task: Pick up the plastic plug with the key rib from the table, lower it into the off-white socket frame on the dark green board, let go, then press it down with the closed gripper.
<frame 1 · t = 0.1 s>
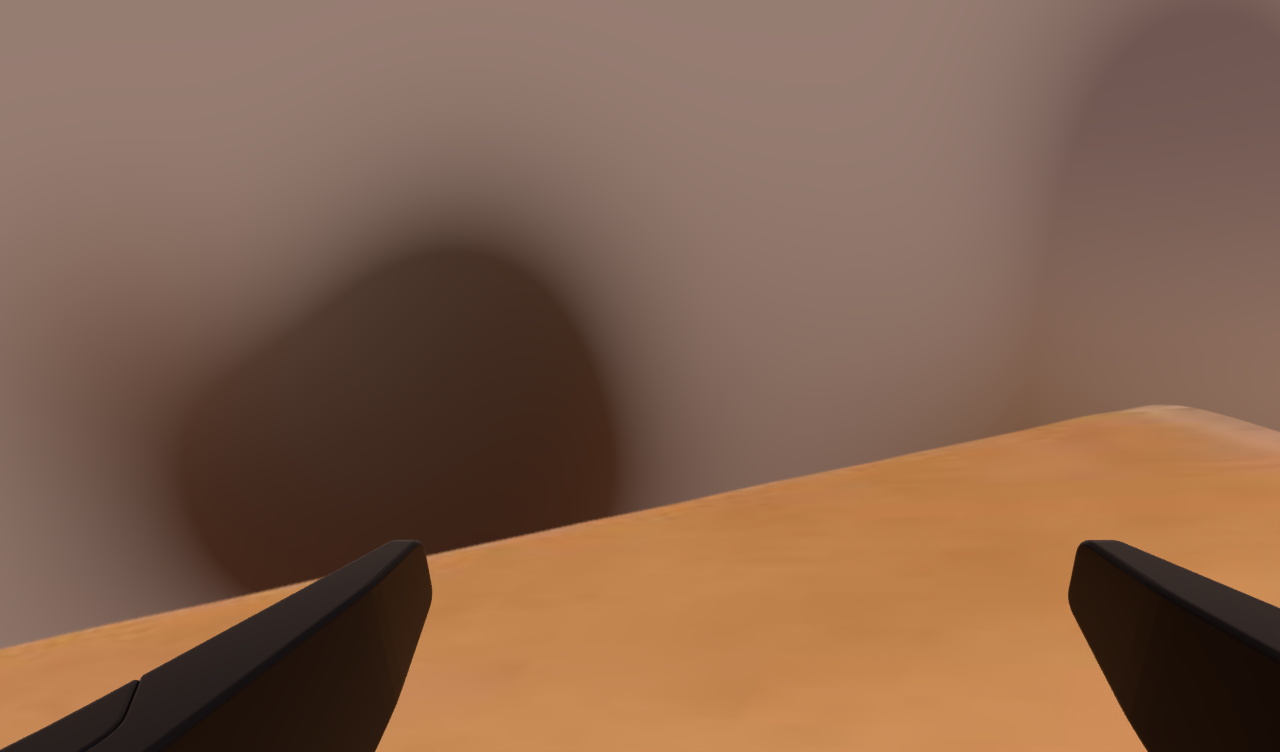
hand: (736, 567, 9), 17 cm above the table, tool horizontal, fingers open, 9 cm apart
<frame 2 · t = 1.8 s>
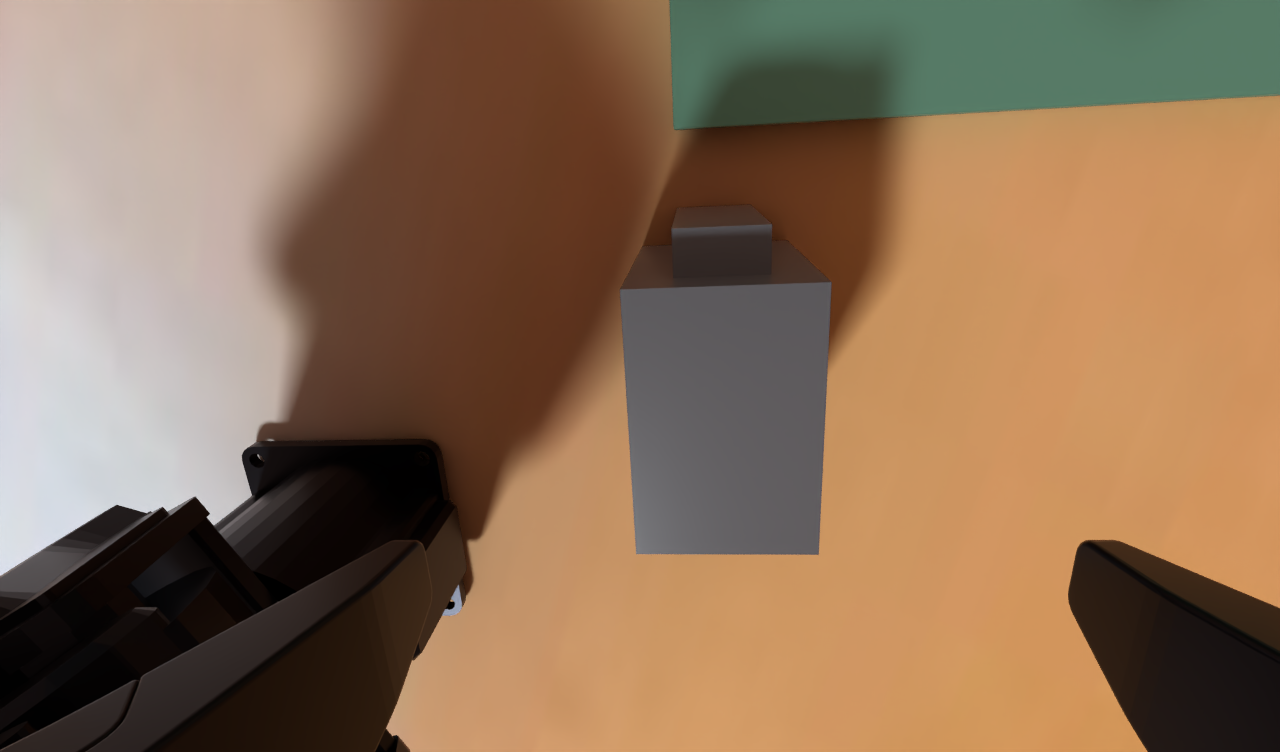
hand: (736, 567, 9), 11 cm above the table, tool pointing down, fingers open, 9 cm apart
plug: (715, 346, 19), on the table
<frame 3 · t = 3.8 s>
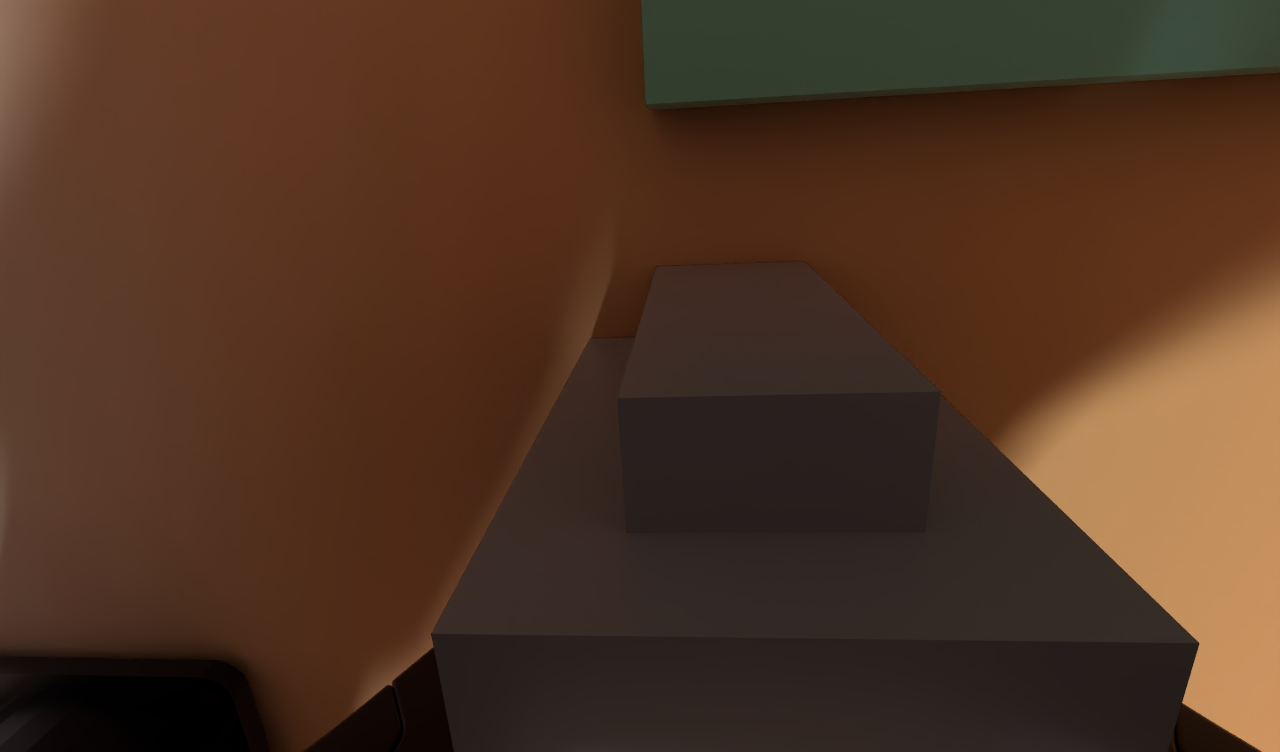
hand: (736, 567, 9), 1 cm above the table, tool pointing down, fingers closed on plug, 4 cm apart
plug: (730, 518, 10), on the table, touching gripper
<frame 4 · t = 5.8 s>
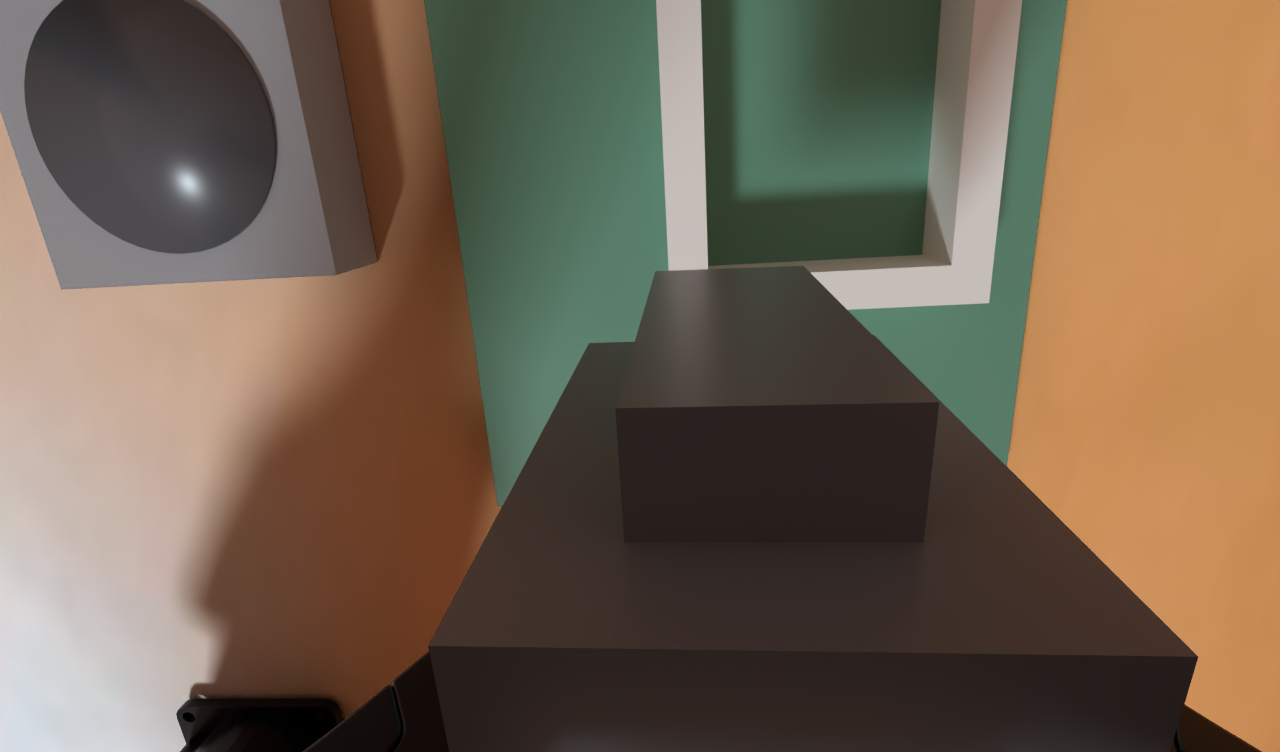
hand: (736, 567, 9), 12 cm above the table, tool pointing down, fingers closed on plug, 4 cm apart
grey square block: (220, 131, 19), on the table
plug: (729, 523, 10), point 10 cm above the table, touching gripper
board: (736, 207, 19), on the table
when the fingers open (5 cm above the table, at t = 8.1 s): plug drops 3 cm, resting on board.
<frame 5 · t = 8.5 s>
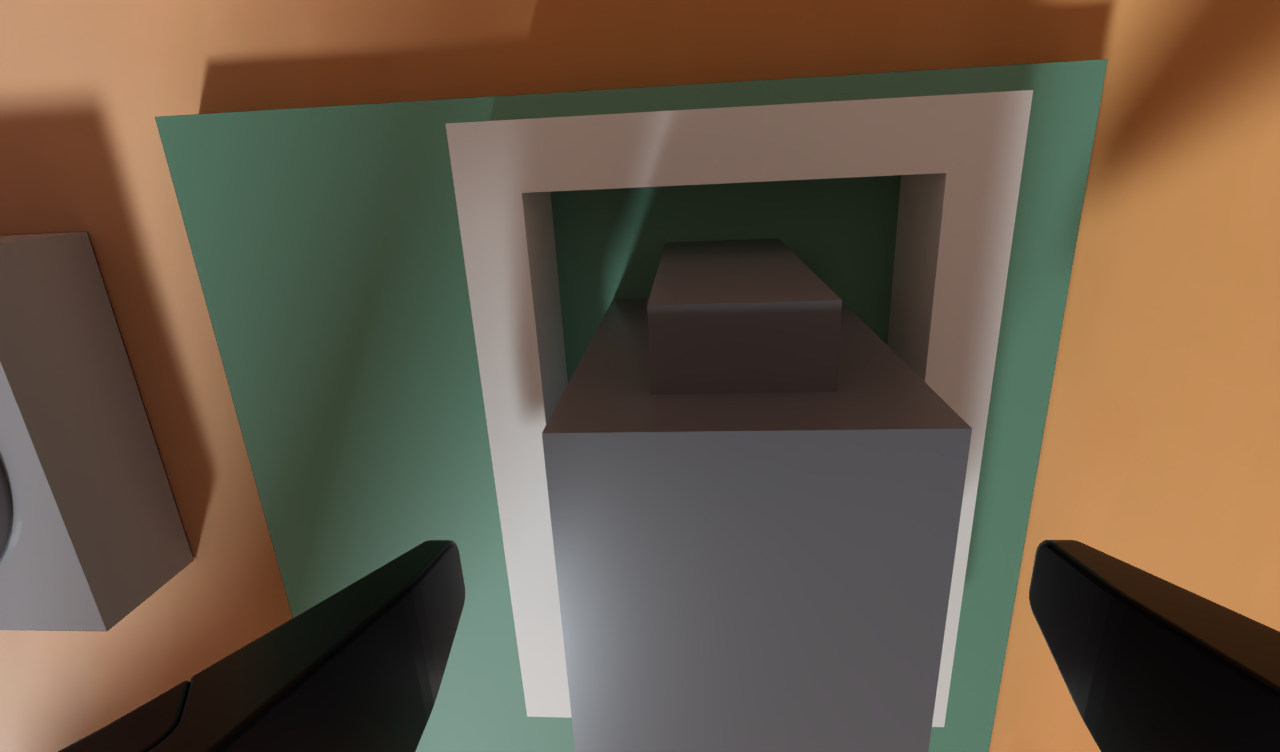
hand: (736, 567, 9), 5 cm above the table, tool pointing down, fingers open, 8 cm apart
plug: (722, 445, 13), point 1 cm above the table, touching board
board: (633, 524, 15), on the table
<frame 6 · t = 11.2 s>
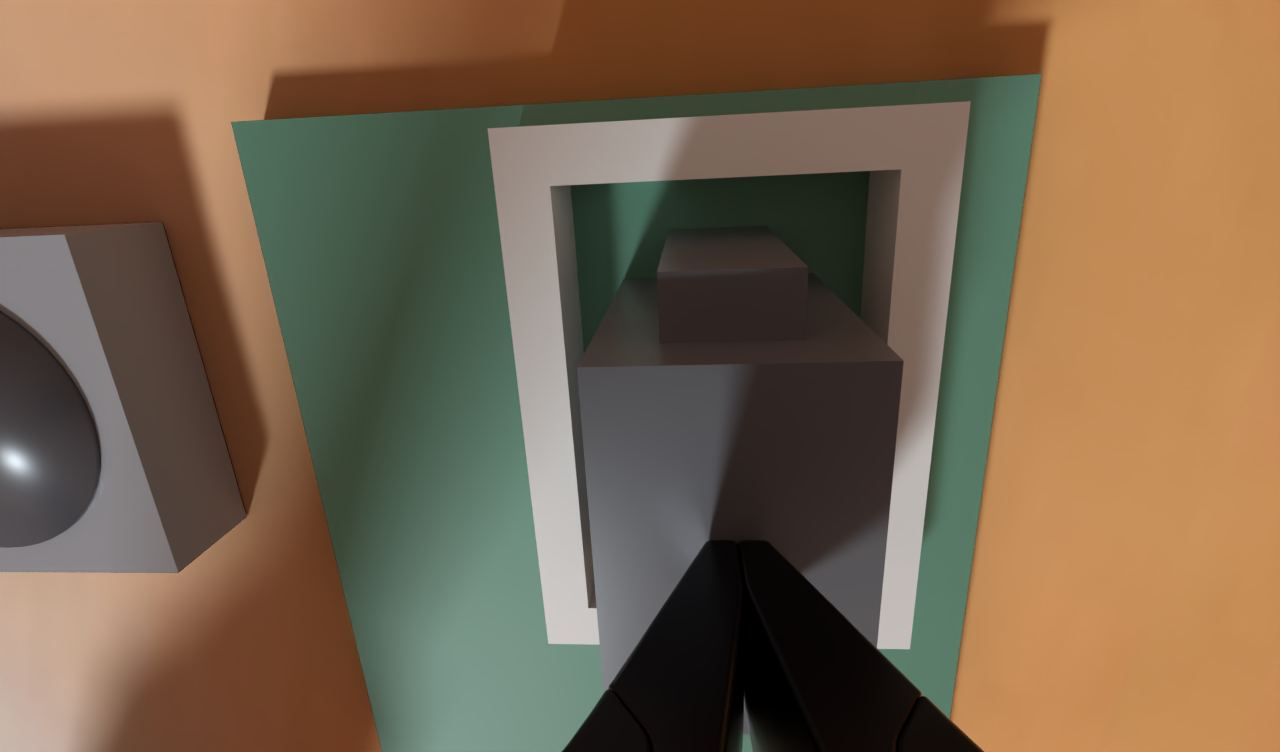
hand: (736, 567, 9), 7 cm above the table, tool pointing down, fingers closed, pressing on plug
grey square block: (64, 384, 17), on the table
plug: (718, 407, 15), point 1 cm above the table, touching board, gripper
board: (640, 482, 16), on the table
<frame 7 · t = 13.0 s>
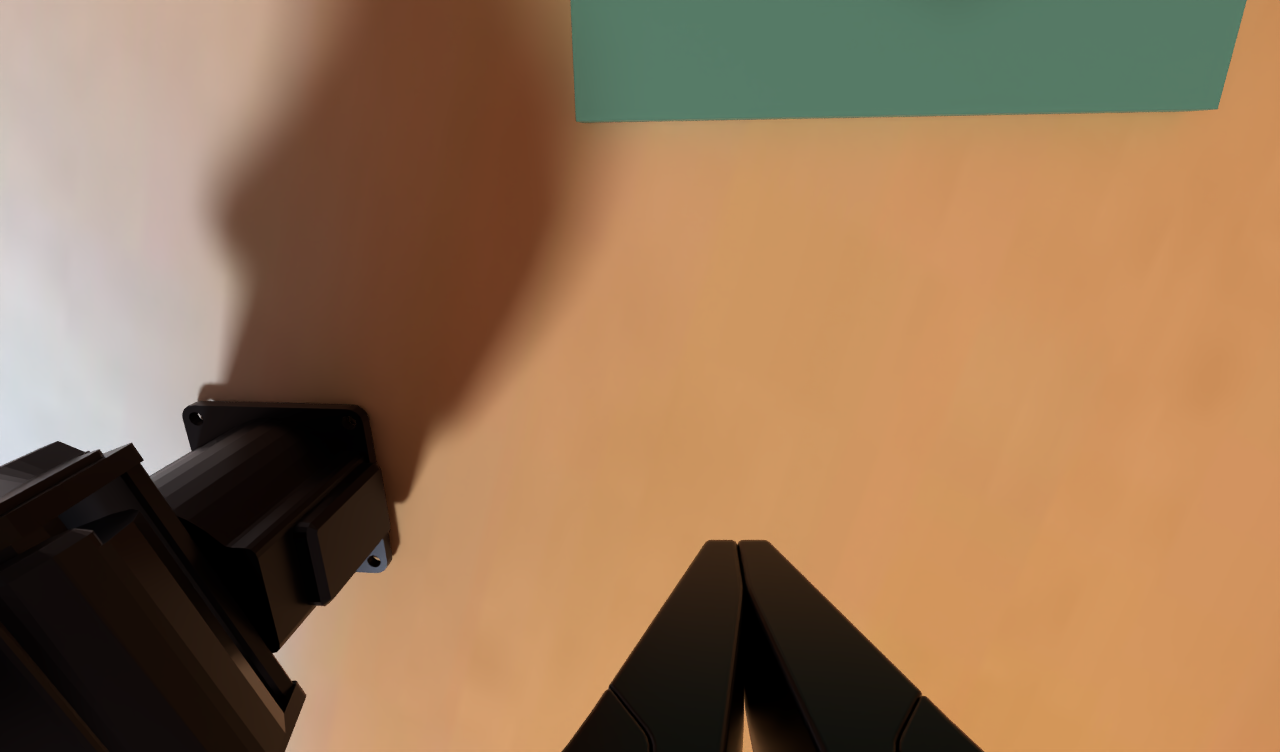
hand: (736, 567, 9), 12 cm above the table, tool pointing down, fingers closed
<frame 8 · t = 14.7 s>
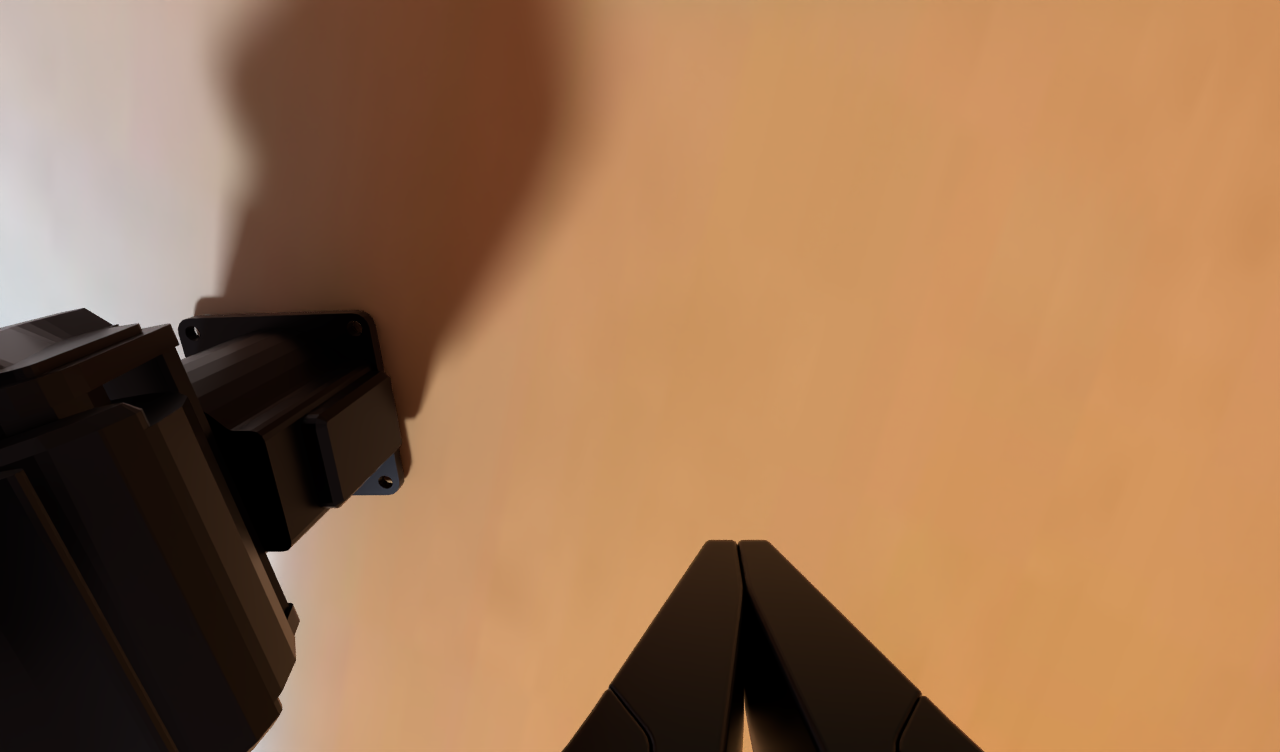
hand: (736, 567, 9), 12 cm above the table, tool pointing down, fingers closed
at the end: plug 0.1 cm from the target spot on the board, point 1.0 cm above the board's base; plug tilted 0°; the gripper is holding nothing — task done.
